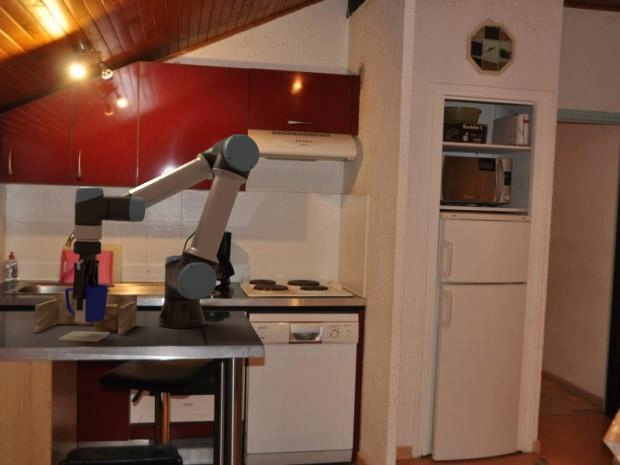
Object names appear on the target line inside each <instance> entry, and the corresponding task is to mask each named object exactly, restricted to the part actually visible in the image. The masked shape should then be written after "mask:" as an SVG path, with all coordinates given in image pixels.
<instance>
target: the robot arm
mask: <svg viewBox="0 0 620 465" xmlns="http://www.w3.org/2000/svg"><path fill="white" fill-rule="evenodd" d="M259 161H260V149H259V147H258V144H257V142H256V141H255V140H254V139H253V138H252V137H250V136H249V135H246V134H242V133H241V134H237V133H236V134H232V135H230V136H228V137H226V138H223V139H221V140H219V141H218V142H216V143H214V144H213V145H212V146H210V147H209V148H207V149H205V150H204V151H202V152H200V153H198V154H197V156H196V158H195V159H192V160H190V161H188V162H186V163H184V164H181V165H180V166H178V167H175V168H174V169H172V170H169V171H167V172H165V173H163V174H161V175H159V176H157V177H155V178H153V179H151V180H149V181H146V182H145V183H142V184H140V185H138V186H136V187H134V188H132V189H130V190H128V191H125V192H123V193H122V194H120V195H109V194H105V193H104V190H103V188H102V187H101V188H100V187H92V186H91V187H90V186H80V187H78V188H76V191H75V199H74V200H75V201H74V227H73V229H72V232H74V233H73V234H74V236H73V239H75V241H74V242H73V254H75V255H79V256H78V257H79V258H78V261H76V262H75V261H74V263H73V266H74V267H73V268H74V270H73V284H72V288H73V290H72V293H73V295H72V299H76V305H75V322H85V321H86V299H85V288H87V285H91V286H92V287H94V286H95V285H99V265H100V264H99V263H100V260H99V259H96V255H100V254H102V241H101V240H102V239H103V221H110V222H112V221H113V222H130V223H135V222H137V223H140V222H143V221H144V220H145V216H146V210H147V209H149V208H151V207H153V206H154V205H157V204H158V203H160V202H163V201H164V200H167V199H168V198H171V197H173V196H175V195H176V194H178V193H179V194H180V193H181V192H183V191H185V190H187V189H188V188H192V187H193V186H194V185H197V184H199V183H201V182H203V181H206V180H209V181H210V180H211V181H212V180H213V181H212V182H211V187H210V189H209V193H208V195H207V198H206V201H205V203H204V206H203V210H202V212H201V215H200V218H199V221H198V224H197V226H196V229H195V233H194V235H193V236H192V240H191V244H190V246H189V247H188V248H186V249H184V250H183V251H182V254H177V255H169V256H167V257H166V258H165V262H164V263H165V264H164V270H165V271H164V296H163V297H164V300H163V304H162V307H161V310H160V313H159V314H158V315H159V316H158V319H157V320H158V321H157V324H158V326H160V327H162V328H163V327H164V328H169V329H171V328H172V329H190V328H199V327H203V326H205V319H206V318H205V315H204V312H203V311H204V310H203V308H202V305H201V300H203V299H206V298H207V297H208V296H209V295H211V294H212V292H214V290H215V288H216V285H217V269H218V266H219V264H220V261H219V259H218V258H217V254H218V251H219V248H220V247H221V243H222V241H223V237H224V234H225V232H226V228H227V226H228V222H229V220H230V217H231V215H232V212H233V208H234V206H235V202H236V199H237V196H238V194H239V190H240V187H241V186H242V185H244V184H246V183H248V179H249V176H250V173H251V172H252V171H251V170H252V169H254V168H255V167H256V165H257V164H258V163H259Z"/></svg>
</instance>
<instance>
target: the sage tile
mask: <svg viewBox="0 0 620 465" xmlns="http://www.w3.org/2000/svg"><path fill="white" fill-rule="evenodd" d="M110 335H111V332H95V331H88V330H87V331H84V330H83V331H82V330H81V331H80V330H72V331H71V332H69V333H67V334H64V335H62V336H61V337H59V338H57V339H58V340H57V341H62V342H63V341H64V342H66V341H67V342H94V343H95V342H100V341H101V340H103V339H105V338H106V337H108V336H110Z"/></svg>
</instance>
